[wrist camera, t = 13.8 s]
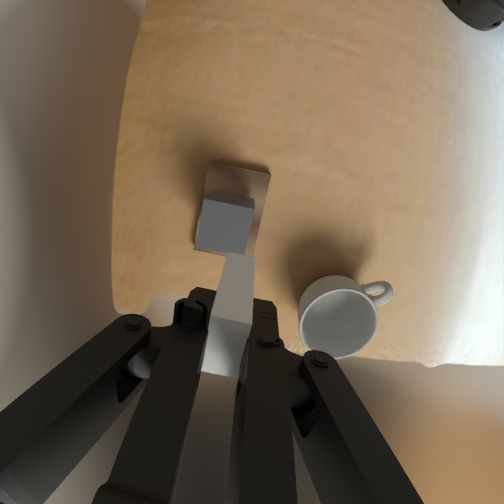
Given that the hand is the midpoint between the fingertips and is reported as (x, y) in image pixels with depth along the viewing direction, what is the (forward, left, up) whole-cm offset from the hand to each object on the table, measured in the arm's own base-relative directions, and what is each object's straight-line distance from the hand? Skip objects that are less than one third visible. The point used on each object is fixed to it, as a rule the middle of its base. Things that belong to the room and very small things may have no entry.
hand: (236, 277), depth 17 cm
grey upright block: (+2, -2, -22) cm, 23 cm away
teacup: (+11, +16, -25) cm, 32 cm away
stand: (+2, -2, -25) cm, 25 cm away
